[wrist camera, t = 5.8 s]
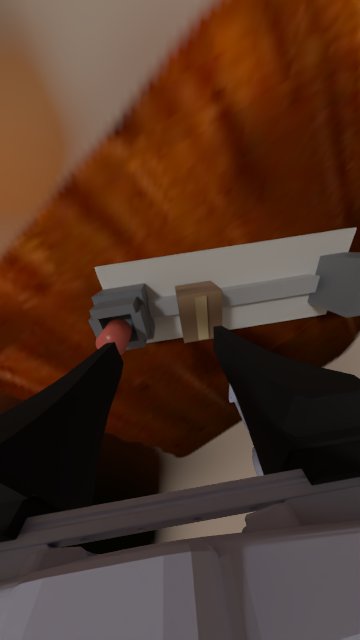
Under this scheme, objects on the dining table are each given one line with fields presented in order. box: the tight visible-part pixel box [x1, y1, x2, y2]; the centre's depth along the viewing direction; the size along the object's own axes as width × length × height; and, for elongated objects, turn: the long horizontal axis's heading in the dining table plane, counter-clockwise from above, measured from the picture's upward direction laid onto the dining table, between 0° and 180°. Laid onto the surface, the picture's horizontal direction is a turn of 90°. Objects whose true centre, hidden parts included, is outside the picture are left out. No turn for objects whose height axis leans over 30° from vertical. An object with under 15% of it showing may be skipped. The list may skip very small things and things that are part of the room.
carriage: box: [175, 281, 222, 343], centre depth 16 cm, size 5×4×6 cm
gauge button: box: [96, 319, 132, 355], centre depth 13 cm, size 2×2×2 cm
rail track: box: [88, 228, 360, 350], centre depth 17 cm, size 11×30×6 cm, turn 97°
